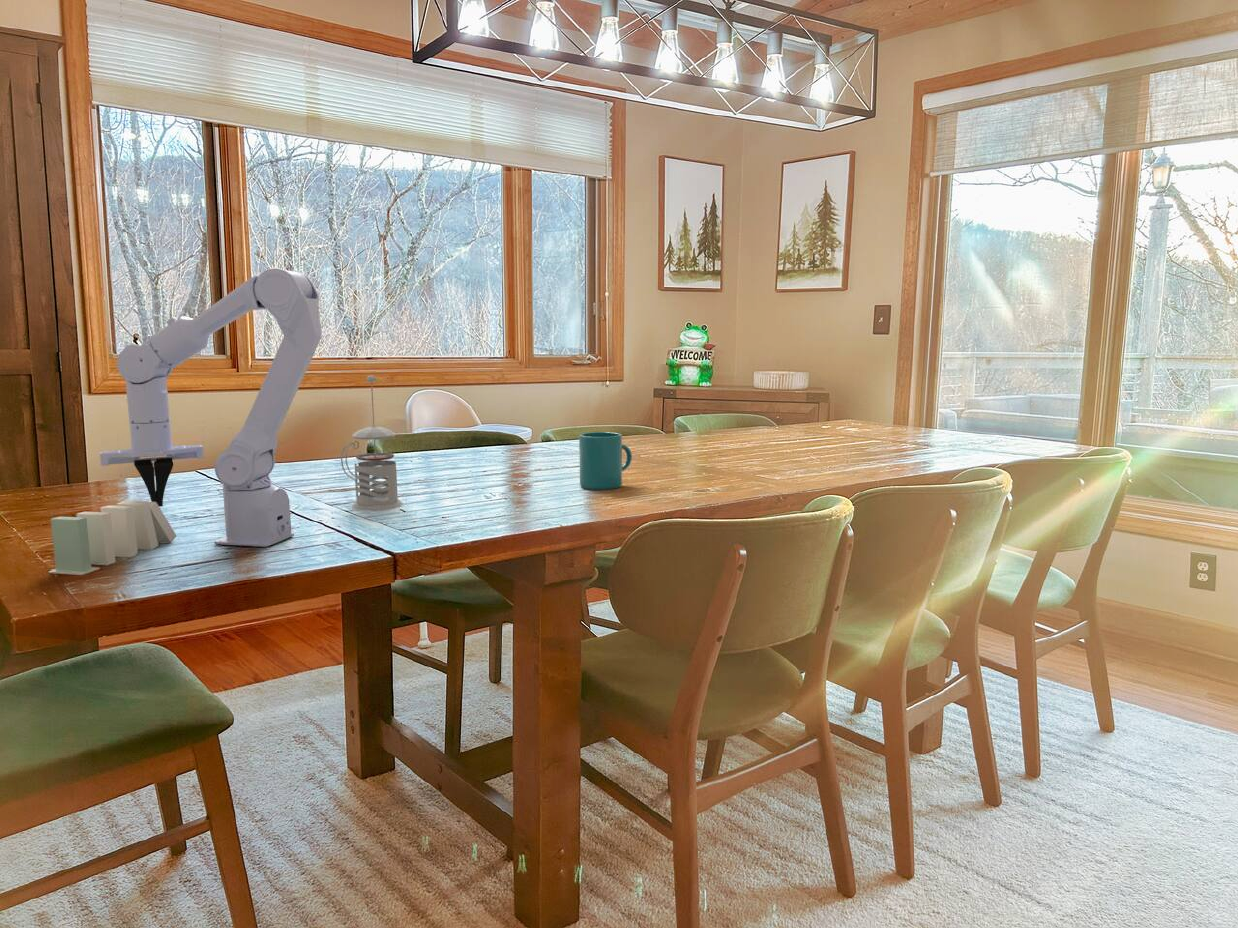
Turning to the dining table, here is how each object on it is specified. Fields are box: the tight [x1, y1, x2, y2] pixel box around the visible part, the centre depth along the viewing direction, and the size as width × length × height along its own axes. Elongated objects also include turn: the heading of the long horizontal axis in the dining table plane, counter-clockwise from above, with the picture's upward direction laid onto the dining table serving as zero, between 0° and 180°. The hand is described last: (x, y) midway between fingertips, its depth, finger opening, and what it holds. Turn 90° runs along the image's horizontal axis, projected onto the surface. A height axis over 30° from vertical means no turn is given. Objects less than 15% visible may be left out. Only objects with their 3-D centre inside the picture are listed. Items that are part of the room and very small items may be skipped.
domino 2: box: [76, 511, 116, 566], centre depth 131 cm, size 2×4×8 cm, turn 78°
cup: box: [578, 431, 633, 491], centre depth 190 cm, size 9×12×11 cm
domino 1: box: [50, 516, 92, 572], centre depth 126 cm, size 2×4×8 cm, turn 78°
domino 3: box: [99, 505, 139, 558], centre depth 135 cm, size 2×4×8 cm, turn 78°
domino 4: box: [116, 500, 159, 551], centre depth 139 cm, size 2×4×8 cm, turn 78°
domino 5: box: [149, 501, 177, 544], centre depth 142 cm, size 2×4×8 cm
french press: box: [340, 375, 404, 512], centre depth 170 cm, size 10×12×25 cm
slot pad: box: [48, 566, 101, 576], centre depth 127 cm, size 6×3×1 cm, turn 78°
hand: (157, 505), depth 143 cm, fingers closed
